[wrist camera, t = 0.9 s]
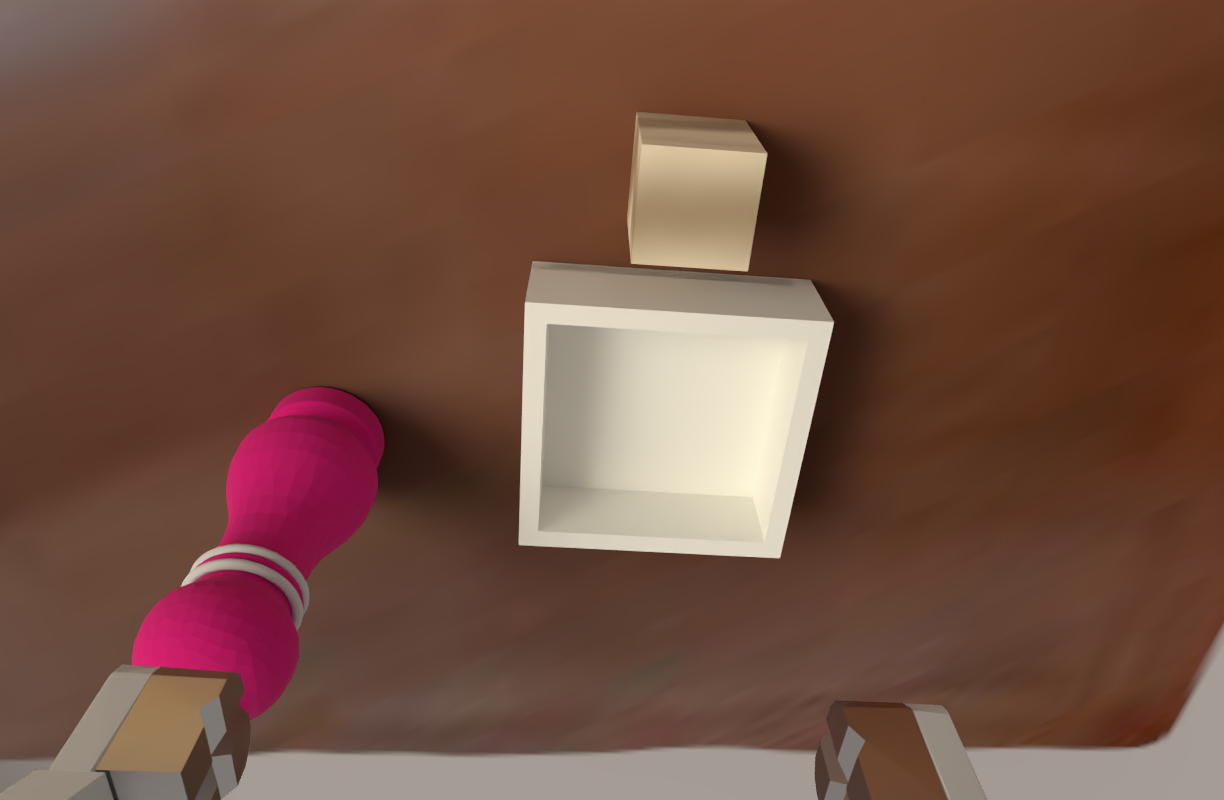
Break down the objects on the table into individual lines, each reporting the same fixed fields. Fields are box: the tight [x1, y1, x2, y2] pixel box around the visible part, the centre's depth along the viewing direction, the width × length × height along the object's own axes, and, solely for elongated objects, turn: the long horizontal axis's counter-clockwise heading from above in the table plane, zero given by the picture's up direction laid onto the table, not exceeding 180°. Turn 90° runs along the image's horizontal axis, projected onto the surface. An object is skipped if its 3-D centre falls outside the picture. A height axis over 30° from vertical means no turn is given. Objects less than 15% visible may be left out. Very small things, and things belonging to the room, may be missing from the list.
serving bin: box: [519, 261, 834, 558], centre depth 44 cm, size 14×14×5 cm
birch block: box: [627, 112, 767, 271], centre depth 37 cm, size 5×5×6 cm
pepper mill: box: [132, 387, 385, 720], centre depth 39 cm, size 7×7×20 cm
